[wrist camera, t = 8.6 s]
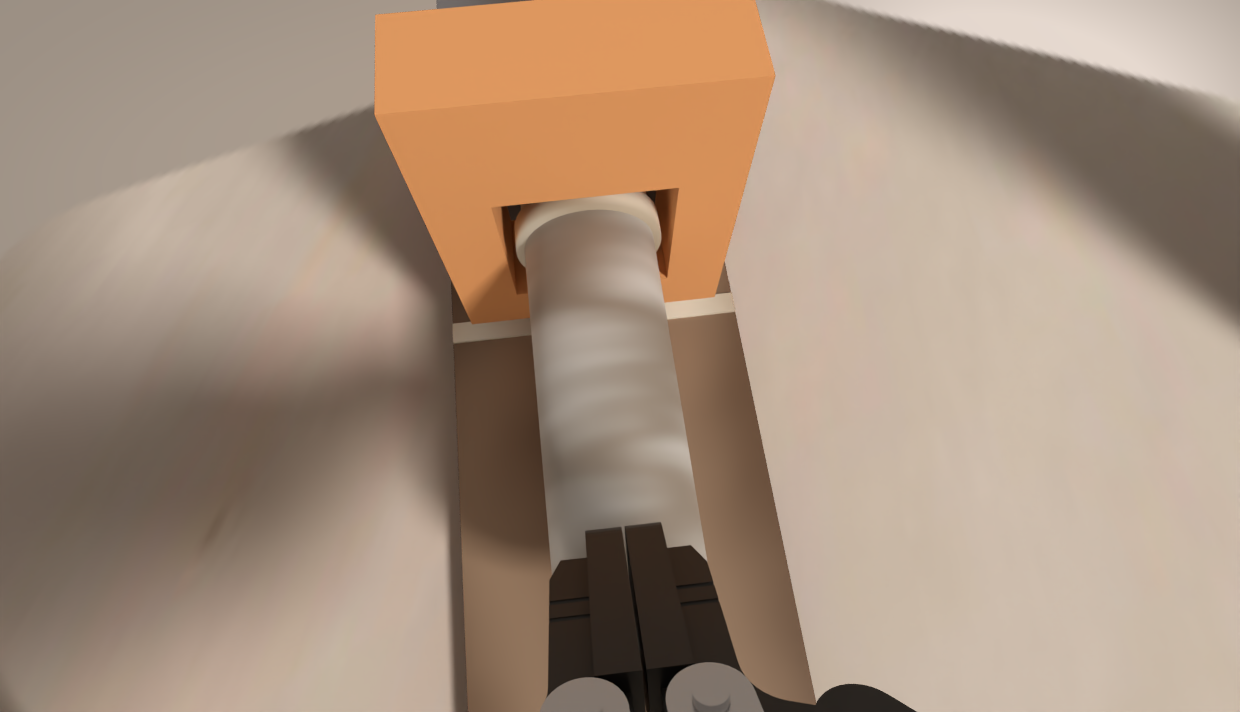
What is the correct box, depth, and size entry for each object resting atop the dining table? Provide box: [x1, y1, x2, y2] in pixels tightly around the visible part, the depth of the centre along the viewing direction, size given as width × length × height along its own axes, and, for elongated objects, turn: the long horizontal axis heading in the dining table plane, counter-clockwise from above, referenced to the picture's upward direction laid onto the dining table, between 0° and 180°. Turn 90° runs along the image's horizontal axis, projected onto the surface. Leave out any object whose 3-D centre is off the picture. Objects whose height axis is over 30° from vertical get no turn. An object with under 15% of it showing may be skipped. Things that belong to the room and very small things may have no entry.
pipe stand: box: [437, 0, 816, 712], centre depth 23 cm, size 11×24×9 cm, turn 7°
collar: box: [374, 0, 775, 324], centre depth 21 cm, size 9×3×11 cm, turn 97°
